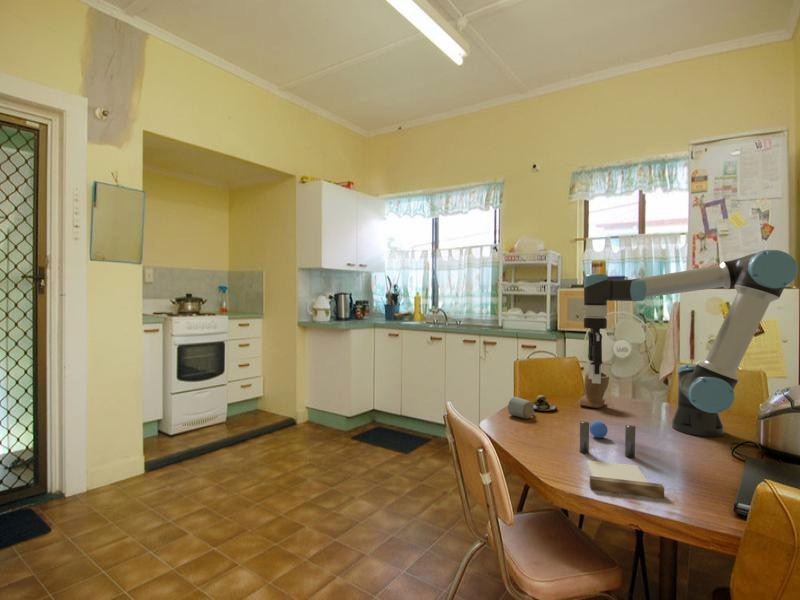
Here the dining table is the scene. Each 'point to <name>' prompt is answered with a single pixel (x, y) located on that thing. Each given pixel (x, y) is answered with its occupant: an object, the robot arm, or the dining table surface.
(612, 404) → the dining table surface
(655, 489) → the stopper wall
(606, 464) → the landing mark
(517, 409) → the ceramic mug
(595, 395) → the brown boot
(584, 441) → the left post
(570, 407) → the dining table surface
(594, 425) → the ball
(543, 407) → the plate of salad
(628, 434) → the right post
